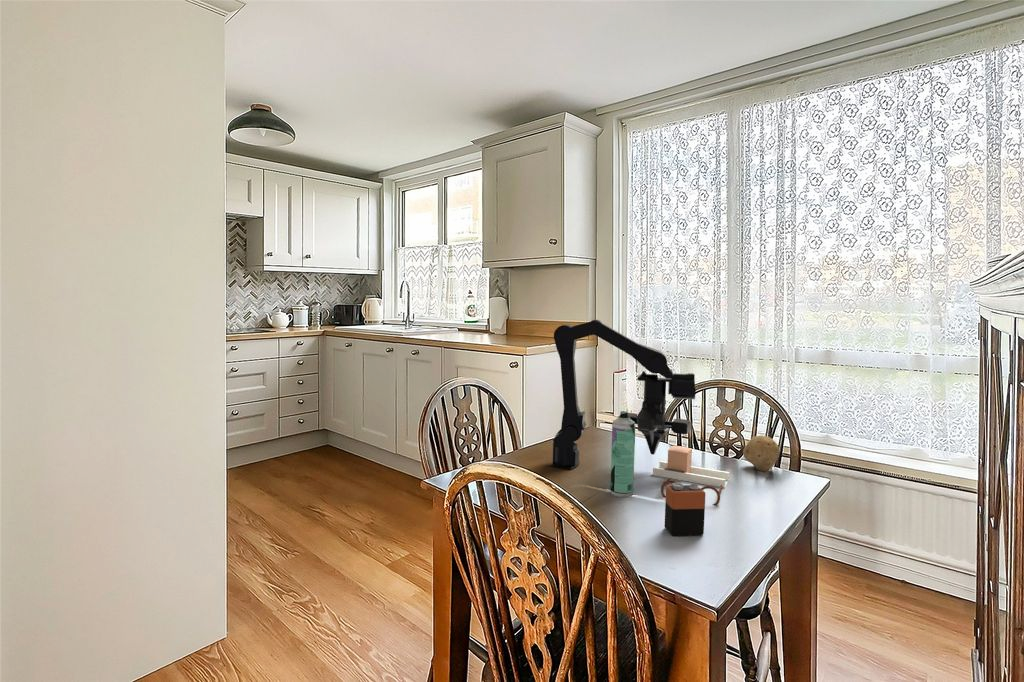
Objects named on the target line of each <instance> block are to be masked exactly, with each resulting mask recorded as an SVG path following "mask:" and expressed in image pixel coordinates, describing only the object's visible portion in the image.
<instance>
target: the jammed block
mask: <svg viewBox="0 0 1024 682" xmlns="http://www.w3.org/2000/svg"><path fill="white" fill-rule="evenodd" d="M692 450H693V448H691V447H683V446H678V445H672V446H671V447H670V448H669V449H668V450H667V462H668V465H667V468H669V469H675V470H681V471H685V472H686V473H691V466H692V455H693V454H692V453H693V451H692Z"/></svg>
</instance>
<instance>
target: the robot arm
mask: <svg viewBox="0 0 1024 682" xmlns="http://www.w3.org/2000/svg"><path fill="white" fill-rule="evenodd" d="M593 335H594V336H597V337H598V338H600V339H601V340H603V341H605V342H607V344H608V343H609V344H610V345H611V346H614V347H616V348H617V349H619V350H621V351H622V352H624V353H625V354H627V355H629V356H631V357H632V358H633V359H635V361H636V362H638V364H640V365H641V366H642V367H643V368H645V369H646V371H648V372H649V373H646V371H644V370H642V371H641V374H639V375H637V378H636V379H637V381H643V401H642V404H641V409H640V410H639V412H638V414H637V413H633V412H628V416H629V417H630V419H631V420H632V421H634V422H635V425H637V431H638V432H641V433H642V435H643V436H644V439H645V440H646V444H647V446H648V447H647V448H648V450H649V453H650V455H655V454H656V451H657V449H658V447H659V444H660V442H661V440H662V438H663V436H664V435H666V434H667V433H669V432H670V430H671V431H672V433H674V434H680V435H687V434H689V433H690V432H691V431H692V422H691V421H690V419H684V418H675V419H674V420H672V421H671V420H667V418H666V405H667V400H666V394H667V393H668V395H671V397H672V399H678V400H679V399H682V400H684V399H685V400H695V399H696V393H697V391H696V388H697V387H696V378H695V375H696V374H694V373H693V372H692V373H690V372H689V373H675V372H673V369H672V368H671V369H670V367H669V366H668V359H667V357H666V355H665V354H664V353H663V352H662V351H661V350H658V349H655V348H652V347H650V346H647V345H644V344H641V343H638V342H636V341H635V340H633V339H631V338H629V337H628V336H626V335H624V334H622V333H620V332H619V331H617V330H615V329H613V328H612V327H610V326H608V325H606V324H605V323H603V322H602V321H601V320H600V319H592V320H590V321H588V322H584V323H580V324H576V325H571V324H568V323H566V324H562V325H559V326H558V327H556V329H554V332H553V340H554V344H555V348H556V351H557V353H558V356H559V360H560V361H559V362H560V372H561V386H562V398H563V399H562V400H563V413H562V419H561V427H560V429H559V430H558V431H557V433H555V436H554V437H553V440H552V462H551V463H549V465H550V467H555V468H560V469H565V470H572V469H574V468H576V467H577V466H578V465H580V462H579V461H580V449H578V443H575V442H576V441H579V439H580V438H581V437H582V436H583V435H582V434H583V432H584V431H585V429H586V426H587V423H586V420H585V417H586V411H585V410H584V411H581V410H580V407H579V404H578V403H579V401H578V387H577V373H576V372H577V371H576V362H575V360H576V359H575V354H576V349H577V348H576V347H577V342H578V341H577V340H579V339H583V338H586V337H590V336H593ZM658 374H659V375H660V376H662V377H658ZM667 383H668V385H667ZM667 388H668V392H667Z"/></svg>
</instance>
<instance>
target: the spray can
mask: <svg viewBox="0 0 1024 682" xmlns="http://www.w3.org/2000/svg"><path fill="white" fill-rule="evenodd" d="M628 413H629V412H628V411H625V410H624V411H620V414H619V415H618V416H617V418H616V419H614V420H612V425H611V426H612V427H611V454H610V455H611V456H610V457H611V458H610V483H609V485H610V486H609V487H610V488H609V489H610V490H609V492H610V494H611V495H613V496H615V497H619V498H627V497H628V498H629V497H632V496H633V495H634V482H635V481H634V479H635V477H634V474H635V451H636V450H635V448H636V424H635V422H634V421H632V420H631V419H630V417H629V416H628Z"/></svg>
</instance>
